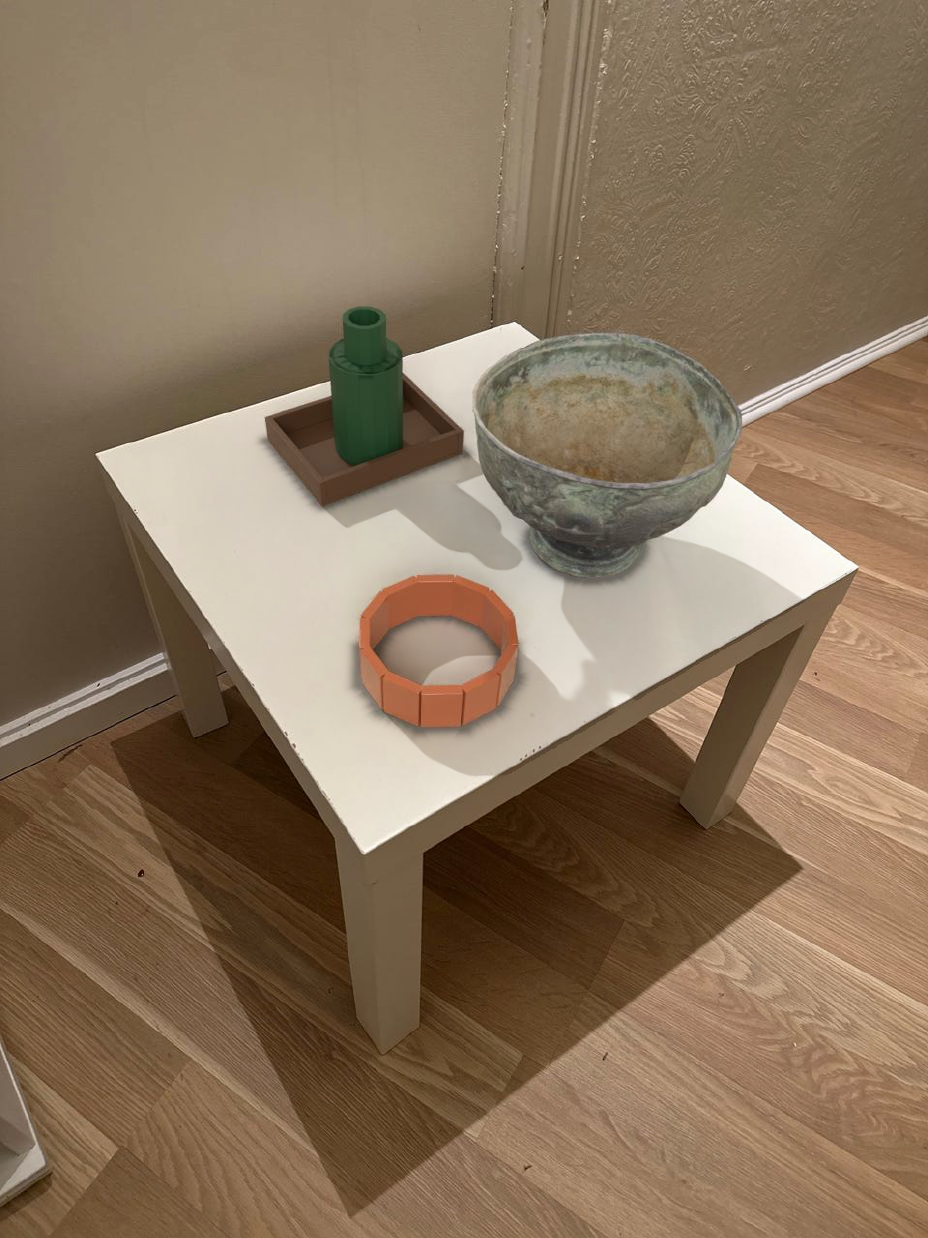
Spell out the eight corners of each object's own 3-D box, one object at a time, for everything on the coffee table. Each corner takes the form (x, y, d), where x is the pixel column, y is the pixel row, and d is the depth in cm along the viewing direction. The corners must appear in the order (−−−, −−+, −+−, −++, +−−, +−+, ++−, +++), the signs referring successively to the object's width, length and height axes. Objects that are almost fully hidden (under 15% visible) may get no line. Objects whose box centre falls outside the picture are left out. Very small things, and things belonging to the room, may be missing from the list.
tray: (321, 506, 80) (319, 483, 78) (267, 440, 86) (264, 416, 84) (462, 453, 86) (464, 430, 84) (403, 394, 92) (402, 372, 90)
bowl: (428, 513, 80) (431, 366, 69) (597, 448, 87) (625, 306, 76) (559, 661, 69) (588, 516, 58) (738, 572, 77) (795, 429, 65)
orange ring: (360, 729, 64) (358, 696, 61) (362, 609, 72) (360, 575, 69) (519, 725, 65) (525, 692, 62) (505, 607, 73) (509, 573, 70)
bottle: (335, 468, 83) (324, 337, 72) (336, 426, 87) (326, 297, 77) (403, 467, 83) (403, 337, 73) (401, 426, 87) (401, 297, 77)
